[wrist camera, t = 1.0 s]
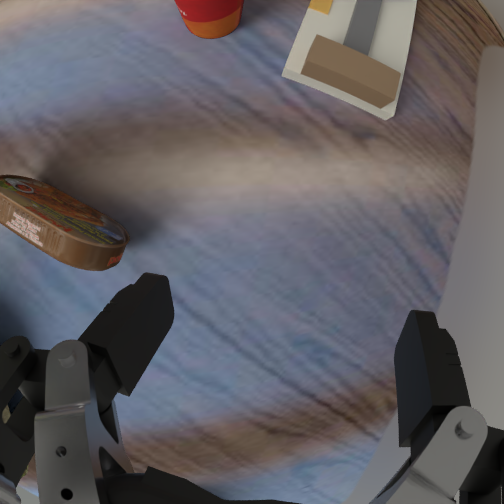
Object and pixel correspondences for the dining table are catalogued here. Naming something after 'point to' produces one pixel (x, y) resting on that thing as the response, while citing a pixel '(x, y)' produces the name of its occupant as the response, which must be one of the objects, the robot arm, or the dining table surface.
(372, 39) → the press base
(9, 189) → the tin
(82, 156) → the dining table surface
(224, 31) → the paper cup
